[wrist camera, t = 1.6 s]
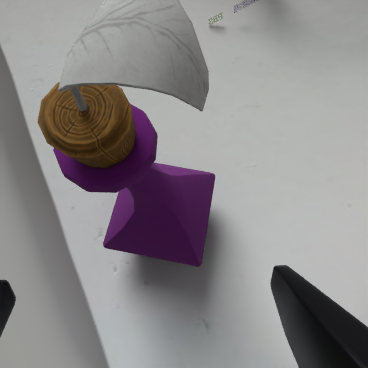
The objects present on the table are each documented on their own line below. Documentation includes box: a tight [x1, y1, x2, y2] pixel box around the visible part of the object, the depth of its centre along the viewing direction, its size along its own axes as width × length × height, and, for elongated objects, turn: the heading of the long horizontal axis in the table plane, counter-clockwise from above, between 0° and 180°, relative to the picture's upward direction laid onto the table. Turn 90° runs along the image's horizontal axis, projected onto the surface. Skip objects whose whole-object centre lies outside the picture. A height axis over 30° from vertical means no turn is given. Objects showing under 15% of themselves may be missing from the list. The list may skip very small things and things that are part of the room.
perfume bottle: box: [38, 0, 215, 267], centre depth 13 cm, size 8×8×18 cm
